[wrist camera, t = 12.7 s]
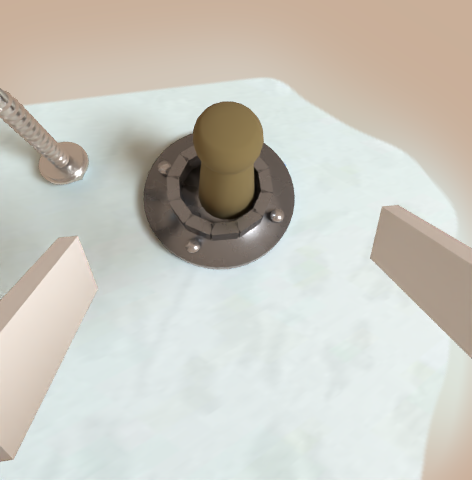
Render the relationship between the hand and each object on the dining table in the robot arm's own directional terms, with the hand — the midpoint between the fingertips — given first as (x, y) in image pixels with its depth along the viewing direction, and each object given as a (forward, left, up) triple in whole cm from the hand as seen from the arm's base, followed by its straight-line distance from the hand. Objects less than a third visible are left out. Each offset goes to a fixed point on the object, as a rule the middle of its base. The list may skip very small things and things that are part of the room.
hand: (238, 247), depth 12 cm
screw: (-21, +4, -16) cm, 27 cm away
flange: (-5, +8, -16) cm, 19 cm away
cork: (-4, +9, -15) cm, 18 cm away
